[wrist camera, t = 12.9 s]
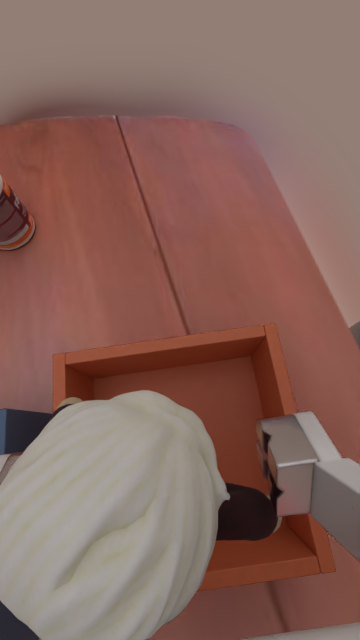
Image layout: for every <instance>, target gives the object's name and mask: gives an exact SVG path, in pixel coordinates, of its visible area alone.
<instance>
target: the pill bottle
mask: <svg viewBox="0 0 360 640" xmlns="http://www.w3.org/2000/svg"><path fill="white" fill-rule="evenodd" d="M34 230H35V222H34V219H33V217H32V215H31V214H30V213H29V212H28V210H27V209H26V208H25V206H24V205H23V203H22V202H21V201H20V200H19V198H18V197H17V196H16V194H15V193H14V192H13V190H12V189H11V188H10V187H9V185H8V184H7V183H6V181H5V180H4V179H3V177H2V176H1V175H0V249H2V250H12V249H16V248H19V247H20V246H22V245H24V244H25V243H26V242H28V241H29V240H30V238H31V237H32V235H33V233H34Z"/></svg>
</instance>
